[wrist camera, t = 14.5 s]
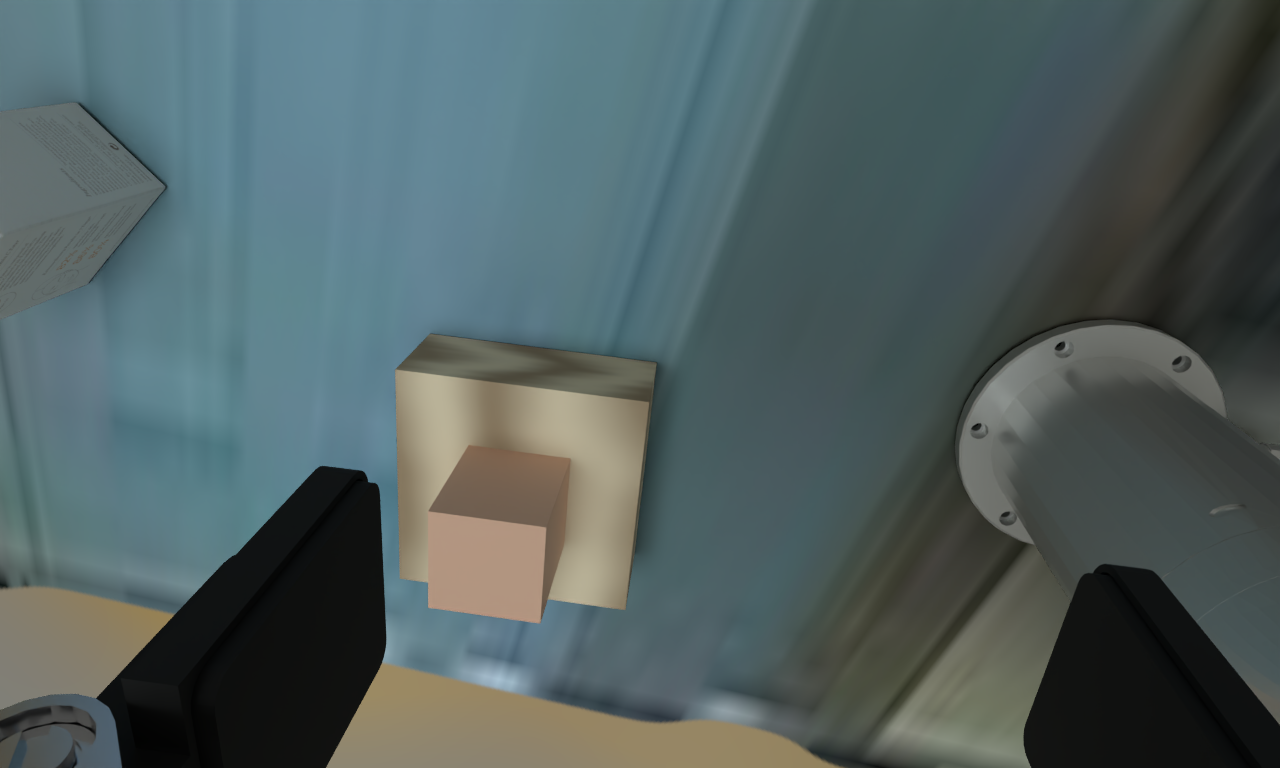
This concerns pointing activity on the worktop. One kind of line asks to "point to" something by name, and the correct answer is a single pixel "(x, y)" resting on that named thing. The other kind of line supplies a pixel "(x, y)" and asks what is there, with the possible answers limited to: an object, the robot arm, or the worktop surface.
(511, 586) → the terracotta block
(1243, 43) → the worktop surface
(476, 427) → the maple base block
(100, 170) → the small box
